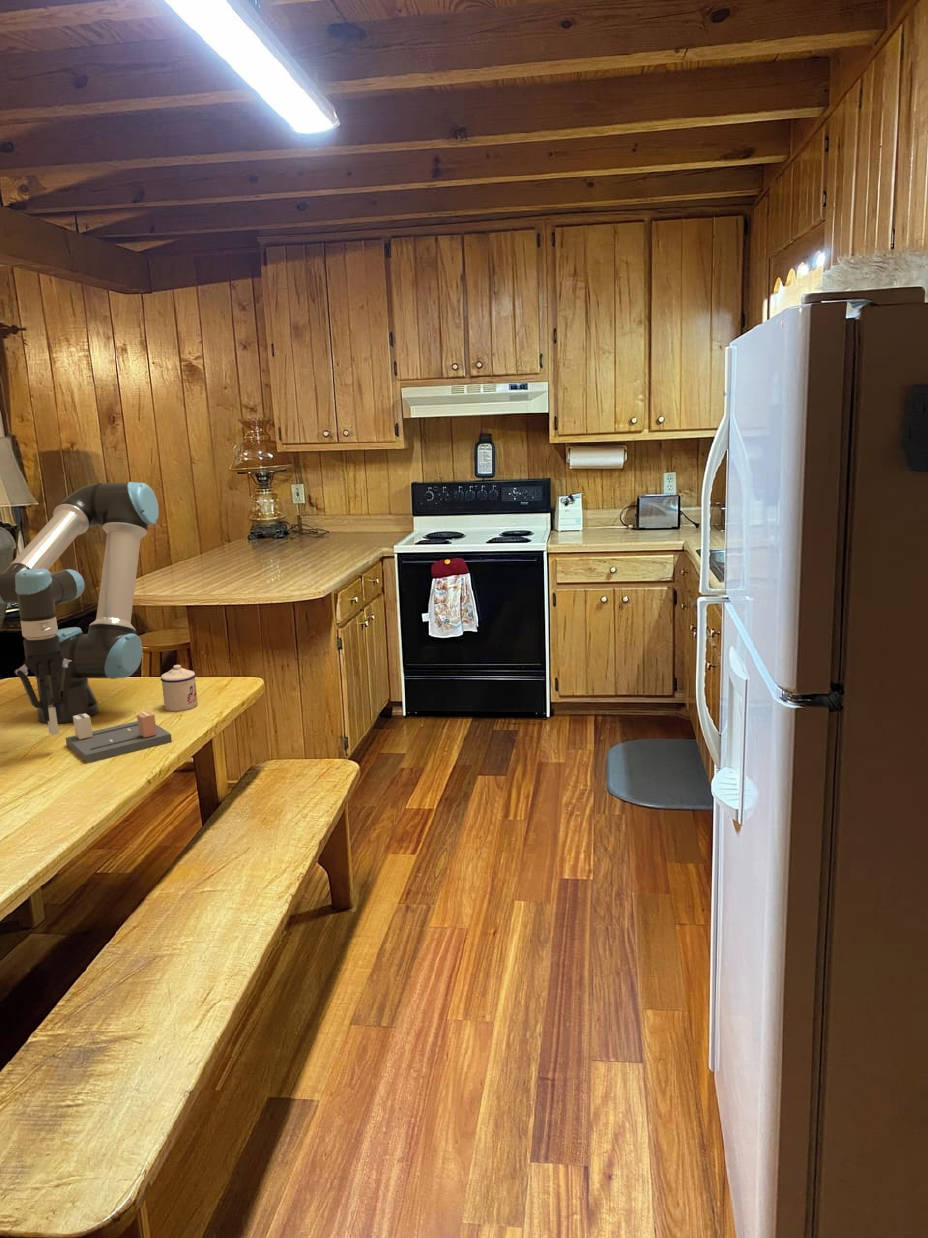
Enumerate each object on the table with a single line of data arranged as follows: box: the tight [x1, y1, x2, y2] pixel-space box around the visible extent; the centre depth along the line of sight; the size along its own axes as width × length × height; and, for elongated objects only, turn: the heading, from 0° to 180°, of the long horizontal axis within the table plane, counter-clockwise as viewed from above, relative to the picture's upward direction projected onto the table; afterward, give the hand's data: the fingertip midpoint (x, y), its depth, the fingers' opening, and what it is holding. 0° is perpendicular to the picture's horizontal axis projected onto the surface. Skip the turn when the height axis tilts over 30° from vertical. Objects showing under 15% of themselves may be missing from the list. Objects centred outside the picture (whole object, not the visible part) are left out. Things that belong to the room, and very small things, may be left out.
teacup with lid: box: [160, 664, 198, 712], centre depth 246 cm, size 12×9×12 cm
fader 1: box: [73, 713, 93, 739], centre depth 217 cm, size 4×3×5 cm
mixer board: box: [65, 720, 173, 764], centre depth 218 cm, size 16×20×2 cm
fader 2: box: [136, 711, 157, 738], centre depth 216 cm, size 4×3×5 cm
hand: (53, 733), depth 213 cm, fingers closed
